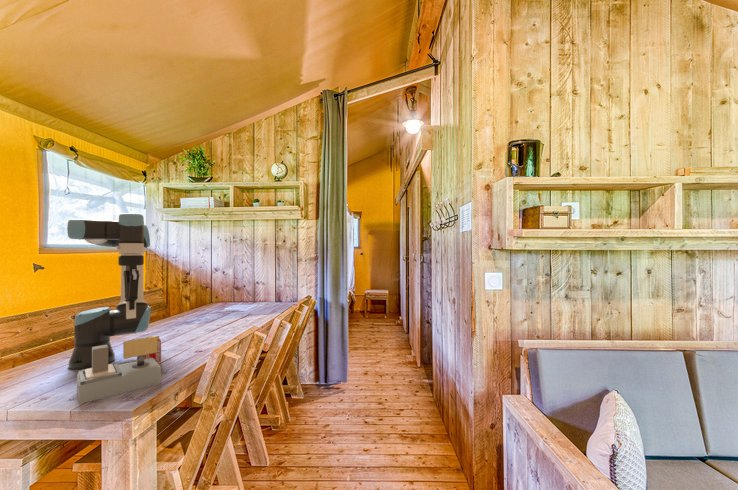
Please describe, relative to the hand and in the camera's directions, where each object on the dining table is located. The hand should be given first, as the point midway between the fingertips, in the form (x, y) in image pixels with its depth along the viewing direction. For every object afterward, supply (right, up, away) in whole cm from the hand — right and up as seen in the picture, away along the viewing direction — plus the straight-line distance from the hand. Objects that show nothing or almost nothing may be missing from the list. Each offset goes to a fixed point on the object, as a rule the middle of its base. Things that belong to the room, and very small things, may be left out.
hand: (131, 318), depth 116 cm
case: (0, -24, -5) cm, 24 cm away
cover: (-4, -18, -9) cm, 20 cm away
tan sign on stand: (+4, -17, 0) cm, 18 cm away
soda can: (-3, -24, +15) cm, 29 cm away
